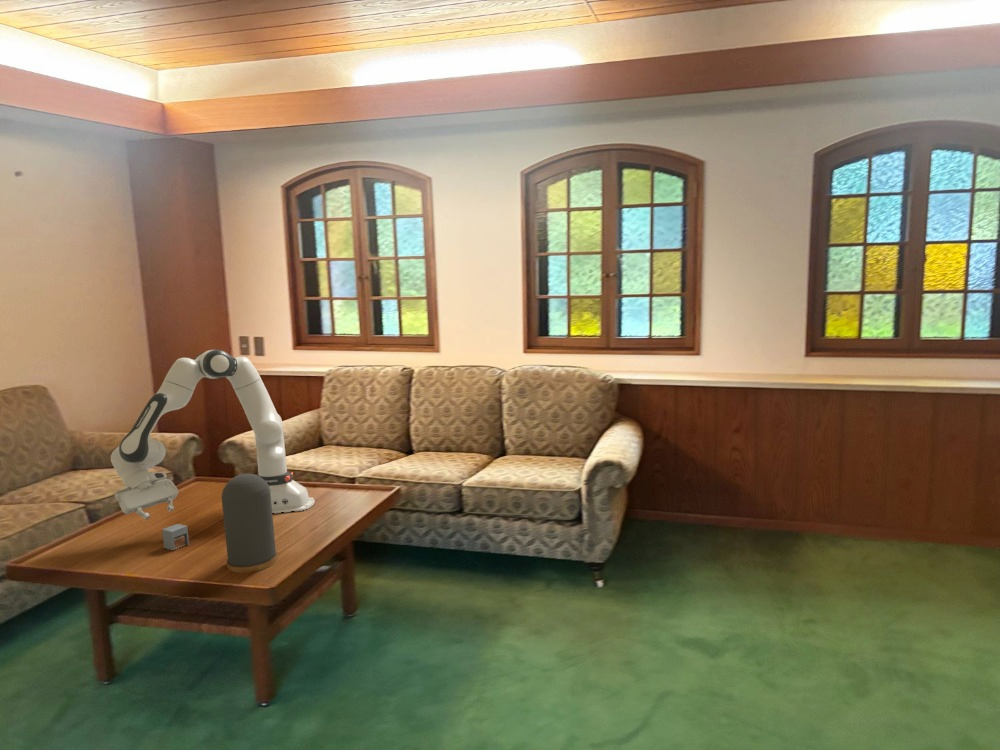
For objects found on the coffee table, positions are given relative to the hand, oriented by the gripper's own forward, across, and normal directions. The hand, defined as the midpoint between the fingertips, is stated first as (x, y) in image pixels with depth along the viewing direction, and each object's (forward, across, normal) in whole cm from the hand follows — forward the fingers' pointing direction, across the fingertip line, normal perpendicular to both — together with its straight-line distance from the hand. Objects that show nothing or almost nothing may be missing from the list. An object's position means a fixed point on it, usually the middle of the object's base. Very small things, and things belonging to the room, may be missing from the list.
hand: (159, 514), depth 249 cm
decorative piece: (+39, +3, -24) cm, 46 cm away
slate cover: (+13, 0, +2) cm, 13 cm away
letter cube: (+13, 0, +2) cm, 13 cm away
